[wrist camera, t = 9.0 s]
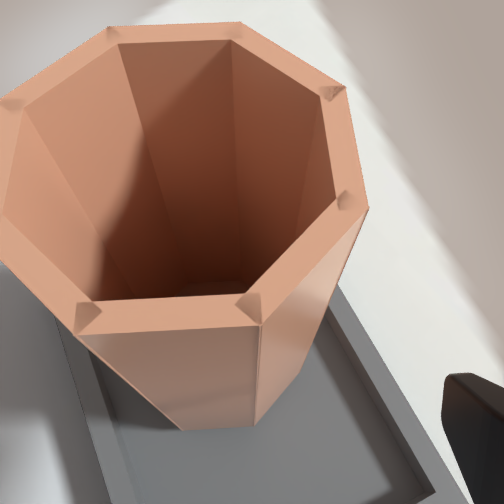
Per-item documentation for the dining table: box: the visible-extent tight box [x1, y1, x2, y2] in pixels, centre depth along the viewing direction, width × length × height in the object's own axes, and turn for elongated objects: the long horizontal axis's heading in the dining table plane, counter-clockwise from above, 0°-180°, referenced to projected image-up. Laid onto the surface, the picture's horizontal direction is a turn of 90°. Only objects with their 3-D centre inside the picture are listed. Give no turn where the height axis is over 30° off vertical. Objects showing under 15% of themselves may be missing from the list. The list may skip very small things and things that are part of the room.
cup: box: [0, 21, 369, 431], centre depth 14 cm, size 6×6×13 cm
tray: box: [54, 284, 469, 504], centre depth 19 cm, size 15×11×2 cm
